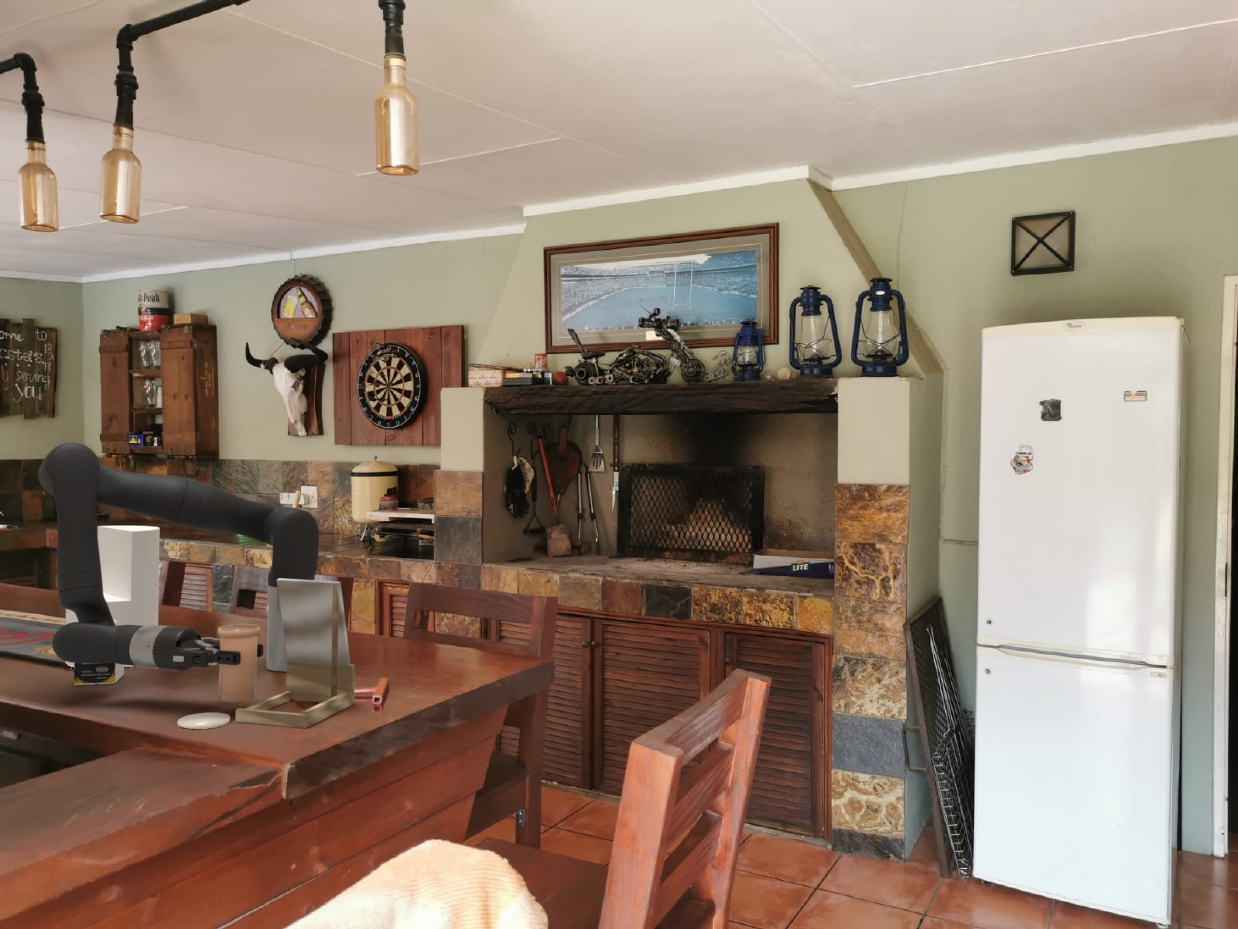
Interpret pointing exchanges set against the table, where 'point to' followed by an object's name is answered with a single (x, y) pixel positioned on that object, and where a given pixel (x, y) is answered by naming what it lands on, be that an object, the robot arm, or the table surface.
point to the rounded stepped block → (129, 574)
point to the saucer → (204, 720)
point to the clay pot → (241, 677)
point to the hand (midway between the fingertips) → (250, 654)
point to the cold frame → (310, 655)
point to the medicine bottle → (97, 672)
